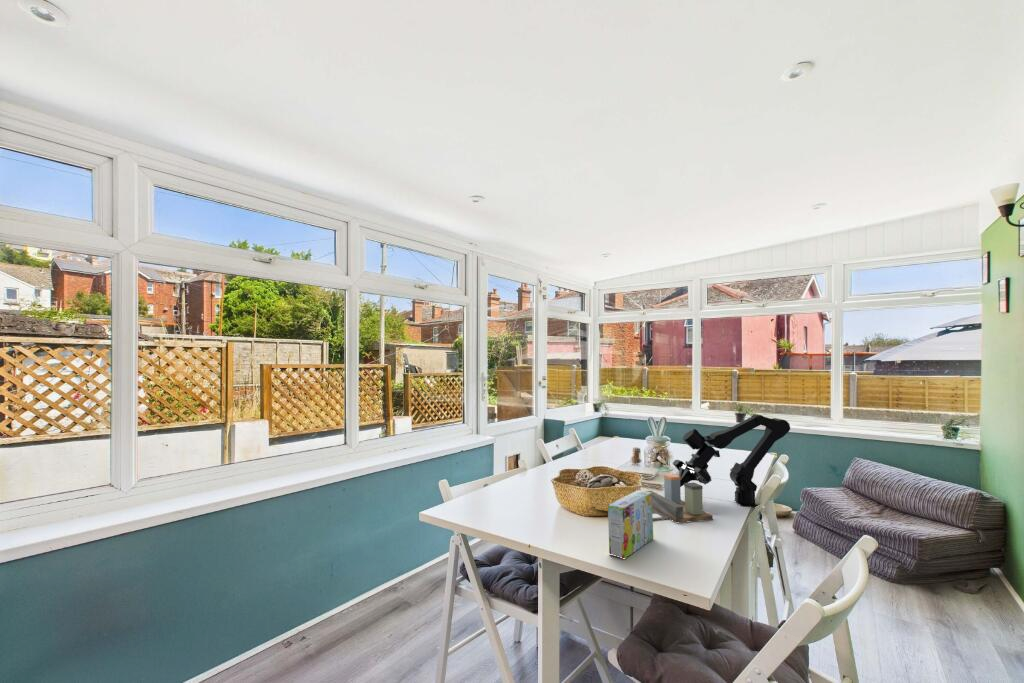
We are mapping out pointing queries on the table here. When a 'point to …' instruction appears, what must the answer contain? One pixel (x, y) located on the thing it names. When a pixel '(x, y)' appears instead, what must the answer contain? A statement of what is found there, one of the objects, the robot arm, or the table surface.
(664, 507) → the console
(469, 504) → the table surface
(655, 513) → the card
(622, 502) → the snack box
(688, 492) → the tall green block
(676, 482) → the orange-capped grey pillar
